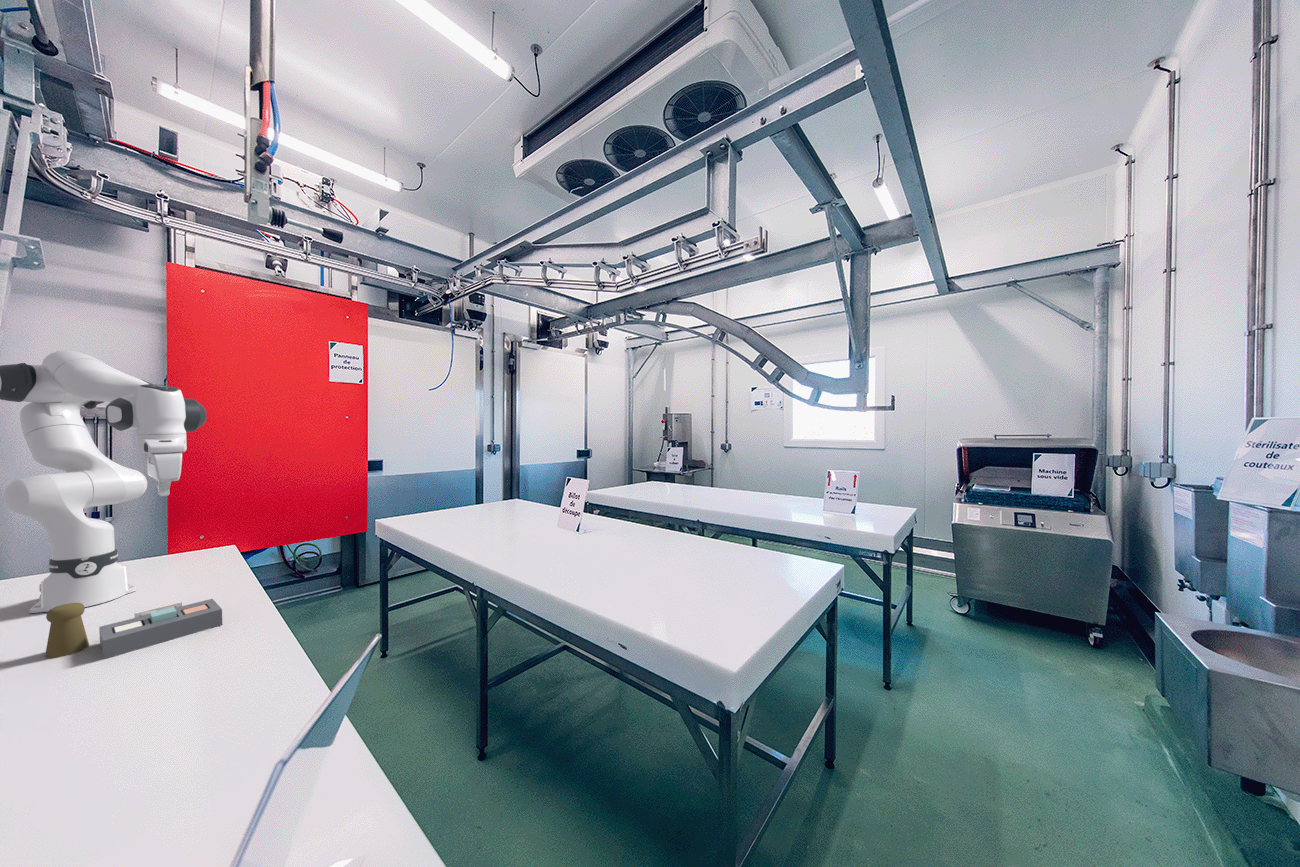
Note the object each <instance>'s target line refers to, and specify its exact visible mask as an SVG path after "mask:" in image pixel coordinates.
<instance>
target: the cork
mask: <svg viewBox="0 0 1300 867" xmlns="http://www.w3.org/2000/svg"><path fill="white" fill-rule="evenodd" d="M85 610H86V607H84V605H83V604H82V603H68V604H64V605H60V606H56V607H54V608H52V609H50V610H49V611H48V612H46V621H47V622H49V623H50V627H49V632H48V638H47V642H46V648H45V653H44V654H45V655H44V658H45V659H57V658H61V657H66V656H69V655H72V654H73V655H74V654H77V653H78V652H81V651H84V650H86V649H87V648H88V647H90V642H89V640H88V636H87V632H86V628H85V625H84V621H83V619H82V615H83V614H84V613H85Z"/></svg>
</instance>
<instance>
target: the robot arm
mask: <svg viewBox="0 0 1300 867" xmlns="http://www.w3.org/2000/svg"><path fill="white" fill-rule="evenodd" d="M183 395H184V394H183V393H182V390H181V389H180V388H178V387H175V386H171V385H163V384H154V383H152V382H149V381H146V380H143V379H140V378H138V377H136V376H133V375H131V374H127V373H125V372H123V371H122V370H118V369H116V368H115V367H113V366H110V365H108V364H107V363H105V362H104V361H103V360H101V359H98V358H97V357H94V356H92V355H90V354H87V353H84V352H81V351H77V350H70V349H69V350H67V349H65V350H58V351H57V350H56V351H53V352H51V353H49V354H47V355H46V356H45V357H44V358H43V361H42V364H41V365H39V364H27V363H25V362H21V363H14V364H3V365H0V401H6V402H15V403H21V402H25V403H27V404H26V405H24V406H23V407H22V408H21V409H20V414H19V416H20V417H19V419H20V420H19V421H20V427H21V431H22V433H23V436H24V439H25V441H26V444H27V446H28V450H29V451H30V453H31V456H32V459H33V460H34V461H35V462H36V463H38V464H40V465H41V466H43V467H46V468H47V467H48V468H51V469H56V470H60V471H63V472H56V473H55V472H54V473H45V474H44V473H42V474H38V475H31V476H27V477H26V476H25V477H22V478H17V479H15V480H13V481H11V482H10V483H9V484H8V485H6V487H5V488H4V489H3V492H2V493H1V494H2V495H1V500H2V502H3V504H4V506H5V507H6V508H8V509H9V510H10V511H12V512H14V513H17V514H21V515H23V516H25V517H28V518H31V519H33V520H35V521H36V522H38V523H40V525H41V526H42V527H43V528H44V529H45V531H46V532H47V534H48V538H49V542H50V550H51V559H49V561H48V562H49V563H48V570H49V573H50V574H49V575H48V576H47V577H45V578H44V579H43V580H42V581H41V582H40V584H39V587H38V588H39V589H38V590H39V592H40V595H39V601H38V602H36V603H35V604H34V605H32V607H31V608H29V611H28V613H29V614H39V613H48V611H49V610H50V609H52V608H54V607H56V606H60V605H64V604H68V603H82V604H83V605H84V607H85V608H87V607H92V606H95V605H100V604H102V603H106V602H109V601H114V600H116V599H118V598H120V597H123V596H124V595H128V594H130V593H133V592H137V590H138V588H137V586H135V585H132V584H129V583H128V578H127V577H128V576H127V568H126V566H124V564H120V563H118V560H119V559H118V557H119V553H118V549H116V543H115V542H116V540H115V538H116V537H115V527H114V525H112V523H110V522H108V521H106V520H102V519H99V518H92V517H88V516H86V514H85V511H84V509H87V508H94V507H102V506H109V505H117V504H121V503H125V502H128V501H129V502H130V501H133V500H136V499H139V498H141V497H142V496H143V495H144V494H145V492H146V491H147V488H148V480H147V478H146V476H145V474H143V473H142V472H140V471H139V470H137V469H134V468H133V469H132V468H130V467H127V466H124V465H121V464H119V463H117V462H115V461H113V460H112V459H111V458H108V457H107V456H106V455H105V454H103V453H102V452H101V451H100V449H99V448H98V447H97V445H96V444H95V441H94V440H93V438H92V436H91V433H90V430H88V427H87V425H86V423H85V421H84V420H83V418H82V415H81V410H82V408H83V407H84V408H86V409H88V410H92V409H95V408H97V405H101V404H104V403H105V402H107V403H108V404H107V405H106V407H105V420H106V423H107V424H108V425H110V427H112V428H113V429H115V430H117V431H118V432H119V431H120V432H127V433H128V432H129V433H135V450H136V452H137V453H143V458H144V459H147V460H146V461H147V463H146V464H147V466H146V467H147V475H148V476H149V477H151V478H152V479H154V480H155V484H156V489H157V495H158V496H160V497H167V496H169V495H170V488H171V484H172V482H177V481H179V480H180V477H181V474H182V466H183V465H182V464H183V453H185V452H186V451H187V449H188V447H187V433H193V432H195V431H196V430H198V429H199V428H201V427H202V426H203V425H205V423H206V421H207V418H208V413H207V411H206V408H205V407H204V406H203V405H202V404H201V403H200V401H197V400H195V398H186V397H185V398H184V396H183Z"/></svg>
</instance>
